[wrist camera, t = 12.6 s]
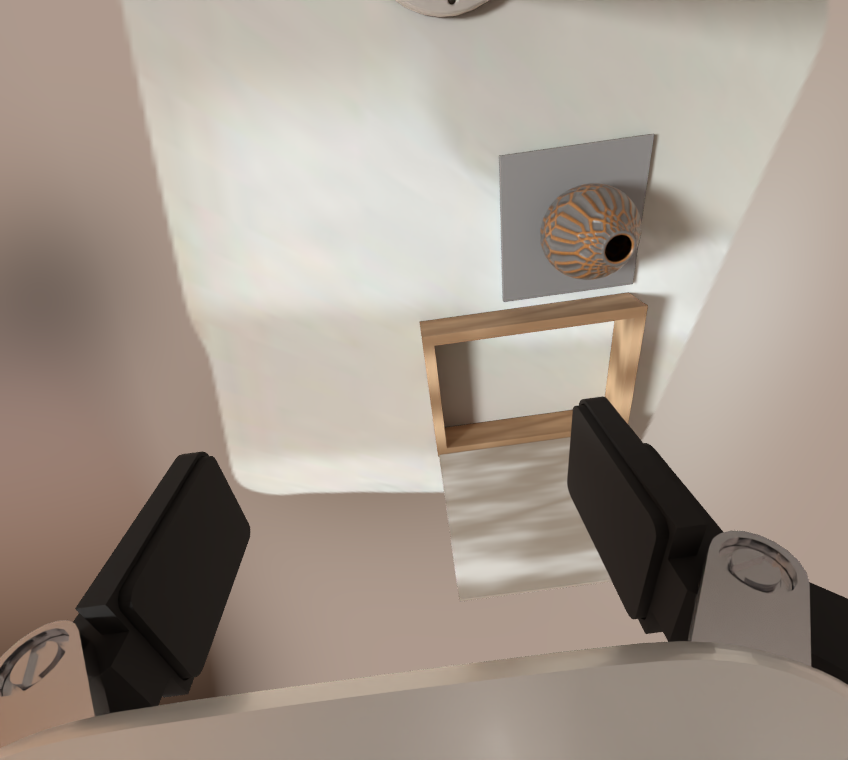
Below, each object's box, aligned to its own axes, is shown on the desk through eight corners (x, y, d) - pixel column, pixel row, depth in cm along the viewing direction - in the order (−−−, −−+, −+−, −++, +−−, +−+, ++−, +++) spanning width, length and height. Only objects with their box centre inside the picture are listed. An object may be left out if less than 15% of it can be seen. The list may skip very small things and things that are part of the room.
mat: (499, 155, 32) (500, 156, 32) (650, 133, 32) (654, 134, 32) (502, 300, 39) (503, 302, 38) (629, 282, 39) (632, 283, 38)
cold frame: (419, 321, 39) (434, 433, 25) (628, 292, 39) (769, 387, 24) (440, 469, 49) (459, 612, 34) (606, 447, 49) (697, 580, 34)
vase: (626, 193, 34) (692, 210, 26) (587, 273, 37) (636, 308, 30) (551, 167, 33) (598, 178, 25) (518, 253, 36) (550, 284, 28)
